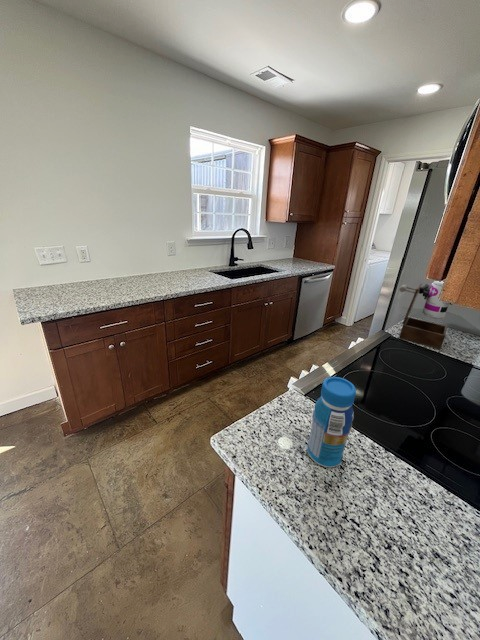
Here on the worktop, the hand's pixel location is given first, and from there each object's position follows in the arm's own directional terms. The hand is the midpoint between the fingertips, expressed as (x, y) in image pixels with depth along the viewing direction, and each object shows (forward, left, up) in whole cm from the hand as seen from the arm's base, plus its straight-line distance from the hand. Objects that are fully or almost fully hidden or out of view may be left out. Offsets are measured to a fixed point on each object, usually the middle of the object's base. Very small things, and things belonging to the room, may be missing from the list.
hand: (438, 298), depth 109 cm
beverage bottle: (+11, +83, -21) cm, 87 cm away
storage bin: (+1, -4, -21) cm, 21 cm away
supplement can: (0, -5, -9) cm, 10 cm away
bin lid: (+8, -4, -5) cm, 10 cm away
